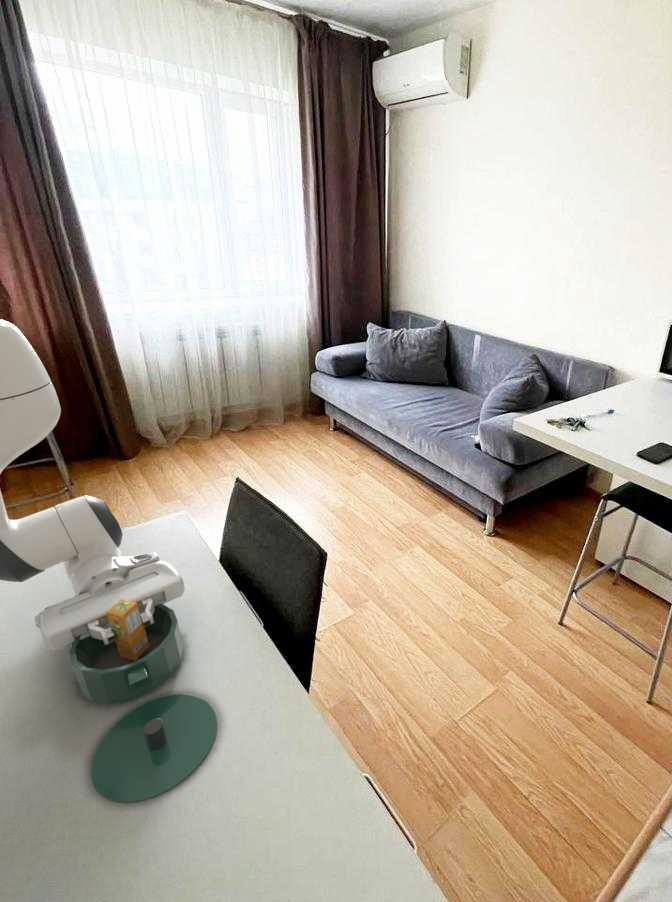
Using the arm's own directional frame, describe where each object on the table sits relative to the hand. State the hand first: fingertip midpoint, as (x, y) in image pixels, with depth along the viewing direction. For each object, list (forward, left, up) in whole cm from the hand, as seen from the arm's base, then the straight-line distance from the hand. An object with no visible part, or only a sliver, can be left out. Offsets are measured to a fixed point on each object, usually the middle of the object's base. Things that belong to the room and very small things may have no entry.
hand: (129, 630), depth 79 cm
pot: (-1, +1, -9) cm, 9 cm away
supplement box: (0, +1, -6) cm, 6 cm away
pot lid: (-1, -16, -8) cm, 18 cm away
